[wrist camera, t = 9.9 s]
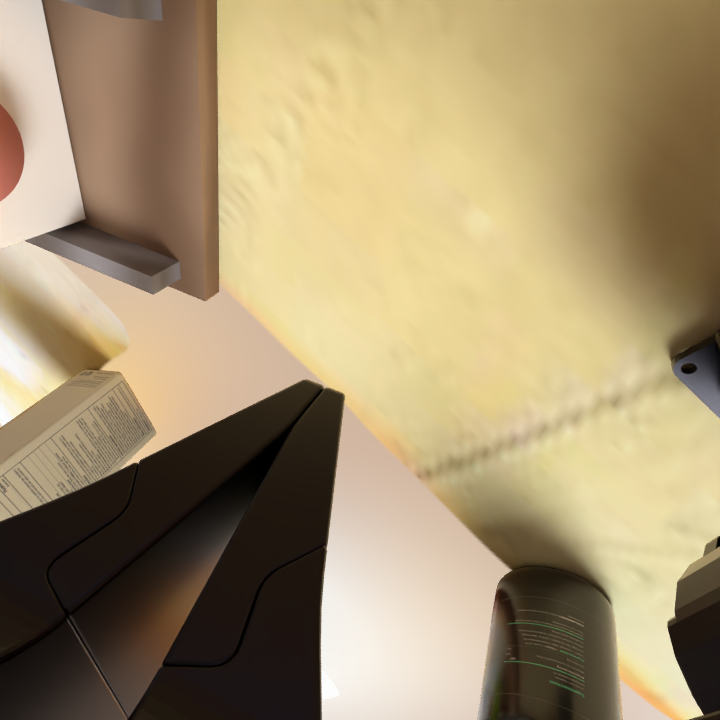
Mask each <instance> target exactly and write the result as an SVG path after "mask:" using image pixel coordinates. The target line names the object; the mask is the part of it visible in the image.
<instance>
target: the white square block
mask: <svg viewBox="0 0 720 720" xmlns="http://www.w3.org/2000/svg"><path fill="white" fill-rule="evenodd" d="M84 219H86V217H85V213H84V208H83V203H82V198H81V193H80V188H79V183H78V178H77V173H76V168H75V163H74V158H73V153H72V148H71V143H70V139H69V134H68V129H67V124H66V119H65V114H64V109H63V104H62V99H61V94H60V89H59V84H58V79H57V74H56V69H55V65H54V60H53V55H52V50H51V45H50V40H49V35H48V30H47V25H46V20H45V15H44V10H43V5H42V0H0V249H2V248H4V247H7V246H10V245H13V244H16V243H19V242H21V241H24V240H27V239H30V238H33V237H36V236H39V235H41V234H44V233H47V232H50V231H53V230H56V229H58V228H61V227H64V226H67V225H70V224H73V223H75V222H78V221H81V220H84Z"/></svg>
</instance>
